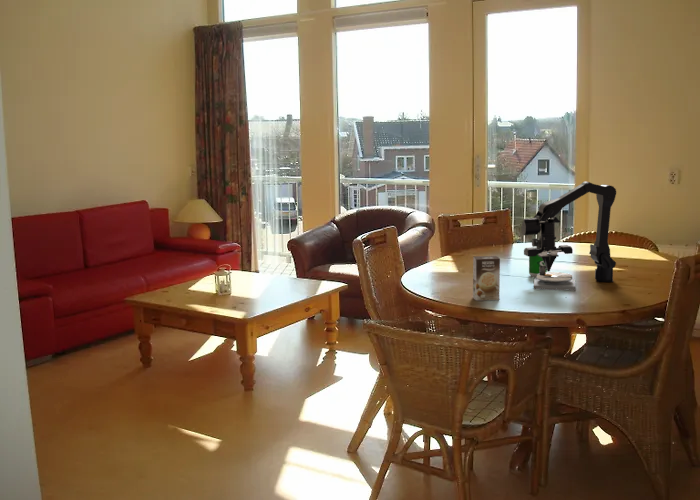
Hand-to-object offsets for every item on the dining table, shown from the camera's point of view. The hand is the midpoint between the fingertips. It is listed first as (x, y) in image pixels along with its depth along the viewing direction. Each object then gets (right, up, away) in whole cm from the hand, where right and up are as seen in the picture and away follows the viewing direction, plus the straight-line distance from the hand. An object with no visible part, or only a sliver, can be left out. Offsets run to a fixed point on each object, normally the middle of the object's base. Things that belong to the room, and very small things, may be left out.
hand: (548, 271), depth 306 cm
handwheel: (+2, -3, -4) cm, 5 cm away
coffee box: (-29, -10, -21) cm, 37 cm away
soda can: (0, -3, +17) cm, 17 cm away
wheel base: (+2, -6, -3) cm, 7 cm away
